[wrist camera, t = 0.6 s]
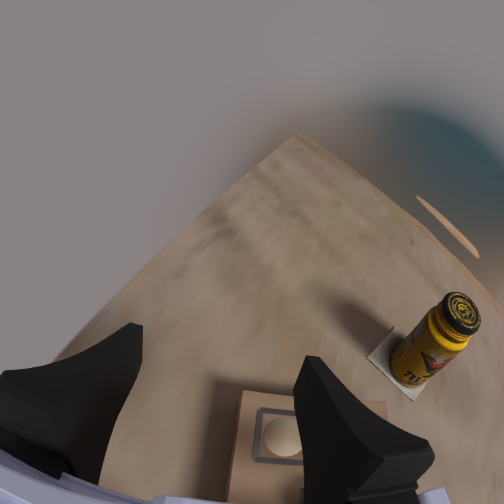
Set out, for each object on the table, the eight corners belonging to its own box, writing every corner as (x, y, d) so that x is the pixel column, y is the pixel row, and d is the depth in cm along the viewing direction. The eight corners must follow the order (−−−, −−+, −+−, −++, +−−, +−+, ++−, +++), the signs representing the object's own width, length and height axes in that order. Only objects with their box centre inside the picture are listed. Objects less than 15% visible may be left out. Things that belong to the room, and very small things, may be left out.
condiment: (413, 402, 29) (478, 349, 21) (366, 358, 33) (417, 293, 25) (437, 366, 33) (492, 310, 25) (394, 327, 37) (440, 264, 29)
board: (367, 550, 16) (389, 552, 13) (216, 553, 16) (218, 561, 13) (368, 414, 28) (386, 400, 25) (238, 404, 27) (243, 389, 25)
